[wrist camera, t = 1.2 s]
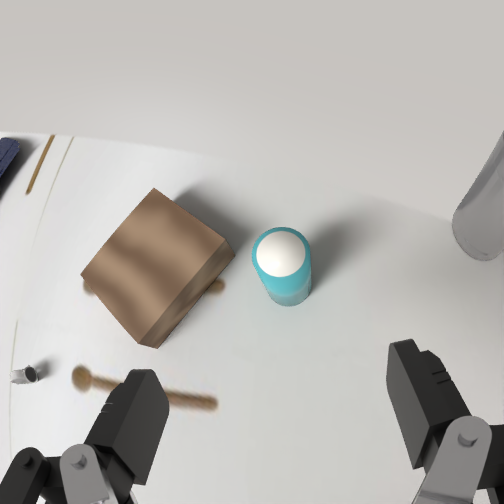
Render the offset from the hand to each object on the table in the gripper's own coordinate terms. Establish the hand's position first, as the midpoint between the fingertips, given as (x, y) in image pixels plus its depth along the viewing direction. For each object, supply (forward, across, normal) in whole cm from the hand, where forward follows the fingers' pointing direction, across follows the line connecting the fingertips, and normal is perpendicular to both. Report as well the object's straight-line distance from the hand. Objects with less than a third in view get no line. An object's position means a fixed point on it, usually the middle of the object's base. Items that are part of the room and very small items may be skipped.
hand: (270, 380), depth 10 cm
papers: (+57, +76, -18) cm, 97 cm away
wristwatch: (+20, +42, +19) cm, 50 cm away
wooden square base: (+30, +17, +8) cm, 36 cm away
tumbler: (+27, 0, +10) cm, 29 cm away
